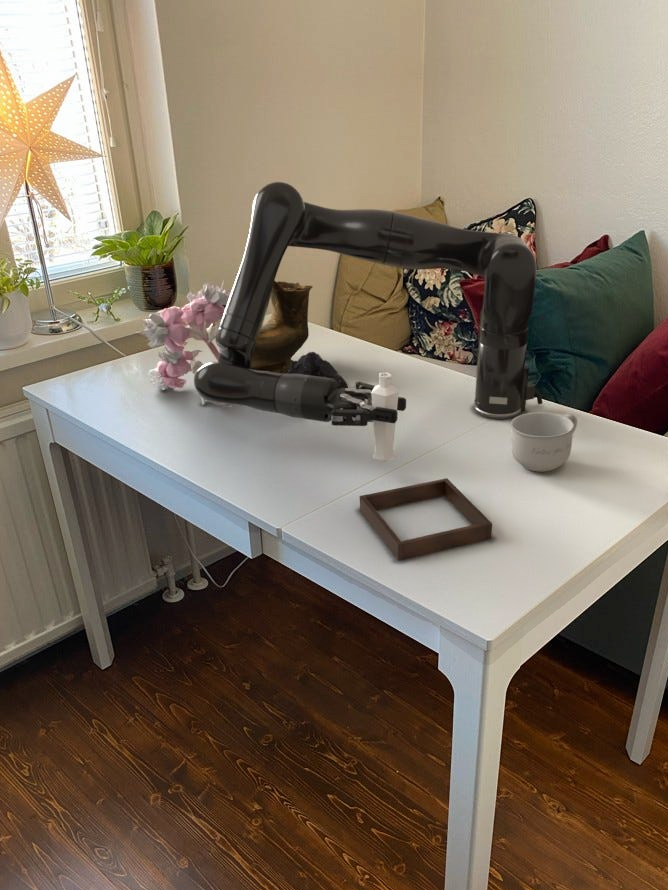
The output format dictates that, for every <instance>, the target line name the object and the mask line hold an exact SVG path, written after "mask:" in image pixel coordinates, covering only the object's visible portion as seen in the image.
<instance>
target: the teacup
mask: <svg viewBox="0 0 668 890" xmlns="http://www.w3.org/2000/svg"><path fill="white" fill-rule="evenodd" d="M577 426H578V418H577V416H576V415H575V414H573V413H570V412H569V413H565V414H564V415H562V414H558V413H555V412H547V411H545V412H544V411H542V412H541V411H538V412H537V411H536V412H528V413H527V412H526V413H524V414H519V415H517V416H515V417H513V419H512V420H511V422H510V427H511V431H510V435H511V436H510V444H511V445H510V447H511V455H512V457H513V458H514V460H515V461H516V462H517V463H518V464H520V465H521V466H522V467H523V468H524V469H526V470H529V471H533V472H540V473H541V472H543V473H544V472H550V471H553V470H556V469H558V468H559V467H561V466H562V465H563V464H565V463H566V462H567V461H568V460H569V458H570V456H571V452H572V446H573V434H574V433H575V431H576V429H577Z"/></svg>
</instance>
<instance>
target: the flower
mask: <svg viewBox="0 0 668 890" xmlns="http://www.w3.org/2000/svg"><path fill="white" fill-rule="evenodd" d="M224 284H225V279H224V278H222V283H221V285H218V284H214V283H212V285H211V281H208V282H206V283H204V284H203V285H202V288H200V290H198V291H196V292H194V293H192V291H191V290H189V292H188V293H187V295H186V298H187V299H188V301H189V302H188V303H187V304H185V305H184V306H183V307H182V308H181V307H179V306H176V305H175V306H171V307H168V308H167V307H164V309H160V310H158V311H157V312H155V313H149V315H148V318H143V319H142V321H143V322H145V324H144V323H142V326H143V328H144V329H141V332H140V331H139V330H136V333H138V334H141V337H142V336H144V337H146V338H148V339H145V340H144V341H145V343H147V344H146V346H148V347H150V348H152V349H158V348H159V346H164V349H163V351H162V352H160V351H159V352H158V357H159V358H160V359H161V360H159V361H158V362H157V364H156V367H155V368H154V369H150V370H148V374H147V375H148V376H150V378H151V379H150V380H151V381H150V383H151V384H152V388H155V387H156V386H161V385H162V386H161V390H162V391H164V390H166V389H168V388H173V387H174V388H178V389H179V388H180V389H181V388H183V387H184V386H185V385H186V383H187V379H184V378H181V377H183V376H185V375H187V374H188V373H189V372H191V373H192V374H193V375H195V373H196V371H197V370H198V369H199V368H200V367H201V366H202V365H204V363H203V362H202V361H201V360H196V357H198V356H199V354H200V353H202V352H203V350H200V349H195V350H192V351H190V350H184V349H185V346H187V345H188V344H189V342H187V341H188V340H190V339H194V340H195V341H202V342H204V343H205V344H206V345H207V347H208V349H209V350H210V351H211V353H212V355H213V356H214V358H215V359H216V362H218V359H219V353H220V351H219V350H218V348H217V346H216V345H215V344H214V342H213V341H215V340H216V334H217V331H218V328H219V325H220V324H216V323H217V322H220V320H221V319H222V316H223V313H224V310H225V308H224V307H223V306H221V305H227V302H228V299H229V296H230V294H231V292H230V289H228V287H227V286H226V287H225V289H224ZM217 285H218V286H217ZM183 323H184V324H183ZM200 401H201V406H204V405H205V401H206V400H204V399H203V398H202V397H200Z"/></svg>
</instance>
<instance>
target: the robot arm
mask: <svg viewBox="0 0 668 890" xmlns="http://www.w3.org/2000/svg"><path fill="white" fill-rule="evenodd" d="M248 232H249V234H248V237H247V242H246V246H245V251H244V253H243V258H242V261H241V264H240V266H239V270H238V273H237V276H236V277H235V281H234V283H233V286H232V289H231V291H230V293H231V294H230V293H229V294H230V296H229V299H228V302H227V305H226V307H225V310H224V313H223V316H222V319H220V321H219V324H218V325H219V328H218V331H217V334H216V338H215V344H216V347H218V349H219V350H218V351H219V359H218V361H209V362H206V363H203V365H202V366H201V367H200V368H199V369H198V370H197V371H196V373H195V375H194V374H193V375H194V376H193V387H194V390H195V392H196V394H198V396H199V397H200V398H201V397H202V398H203V399H204V400H205V401H206V402H209V403H211V404H214V405H217V406H219V407H222V408H233V407H235V406H245V407H248V408H251V409H252V410H253V409H254V410H257V411H261V412H266V413H272V414H280V415H283V416H287V417H289V418H290V417H291V418H296V419H302V420H308V421H309V420H310V421H316V422H324V423H329V422H331V425H332V426H337V427H338V426H339V427H341V426H343V427H367V426H368V423H373V422H374V420H375V421H381V422H388V423H397V422H398V411H399V412H404V411H405V410H406V409H407V398H405V397H403V396H398V405H397V410H395V409H388V408H381V407H376V408H375V409H374V407H373V406H372V394H371V392H372V390H373V388H374V387H375V386H376V385H373V384H370V383H366V382H362V381H357V382H355V387H348V388H340V387H339V386H338V385H337V382H336V381H335V380H334V379H332V378H325V377H318V376H311V375H303V374H288V373H285V372H283V373H277V372H270V371H258V370H252V369H251V366H252V356H253V350H254V347H255V345H256V342H257V339H258V336H259V333H260V330H261V328H262V325H264V322H265V318H266V315H267V311H268V307H269V303H270V301H271V299H270V296H271V292H272V288H273V284H274V281H276V277H277V273H278V271H279V268H280V265H281V263H282V261H283V258H284V256H285V253H286V251H287V249H288V247H291V248H292V247H293V248H303V249H305V248H306V249H314V250H323V251H328V252H332V253H337V254H340V255H344V256H347V257H350V258H355V259H359V260H363V261H367V262H371V263H375V264H379V265H383V266H388V267H393V268H398V269H404V270H416V271H417V270H437V269H451V270H457V271H462V272H466V273H470V274H473V275H476V276H478V277H479V276H480V277H482V278H484V288H483V302H482V308H481V310H480V313H479V325H478V326H479V328H478V342H477V343H478V344H477V361H476V376H475V377H476V378H475V391H474V392H475V395H474V402H473V411H475V413H476V414H478V415H480V416H482V417H485V418H489V419H490V418H491V419H497V420H500V419H501V420H503V419H511V418H516V417H518V416H519V415H521V413H524V412H526V406H527V405H526V404H527V401H529V400H534V399H535V397H536V401H537V402H536V403H537V405H542V404H543V397H542V394H541V392H540V391H539V390H538V389H536V385H535V384H533V383H532V382H530V381H529V373H530V366H529V365H528V364H527V363H526V358H527V348H528V336H529V326H530V318H531V316H532V314H533V310H534V309H533V308H534V301H535V300H534V299H535V291H536V284H537V283H536V282H537V270H538V268H537V267H538V266H537V260H536V256H535V255H534V253H533V252H532V250H531V247H530V246H529V245H528V243H526V241H525V240H524V239H522V238H521V237H519V236H517V235H514V234H511V233H502V232H492V231H491V232H490V231H482V230H481V231H480V230H472V229H464V228H459V227H456V226H452V225H449V224H446V223H442V222H439V221H435V220H431V219H427V218H423V217H420V216H415V215H411V214H407V213H402V212H399V211H398V212H397V211H392V210H388V209H377V208H360V209H359V208H356V209H336V208H329V207H324V206H320V205H317V204H313V203H311V202H310V203H309V202H307V201H304V200H303V197H302V195H301V193H300V192H299V190H297V189H296V188H295V187H294V186H293V185H291V184H290V183H287V182H283V181H273V182H269V183H267V184H266V185H264V186H263V187H261V189H260V190H259V191H258V192H257V193H256V195H255V197H254V198H253V202H252V207H251V221H250V228H249V231H248Z"/></svg>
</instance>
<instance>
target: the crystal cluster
mask: <svg viewBox="0 0 668 890" xmlns="http://www.w3.org/2000/svg"><path fill="white" fill-rule="evenodd" d="M293 361H294V362H293V363H291V364H290V365H289V369H288V371H287V374H303V375H311V376H318V377H325V378H332V379H334V380H335V381H336V382H337V385H338V386H339V387H340V388H349V385H348V383H347V381H346V380H345V379H344V378H343V377H342V375H341V374H340V373H339V371H338V370H337V369H336V368H335V367H334V366H333V364H332V363H330V361H327V359H323V358H322V357H321V356H320V354H319V353H316V352H315V351H308V352H307V353H306V354H303V355H301V357H299V358H298V360H293Z"/></svg>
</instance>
